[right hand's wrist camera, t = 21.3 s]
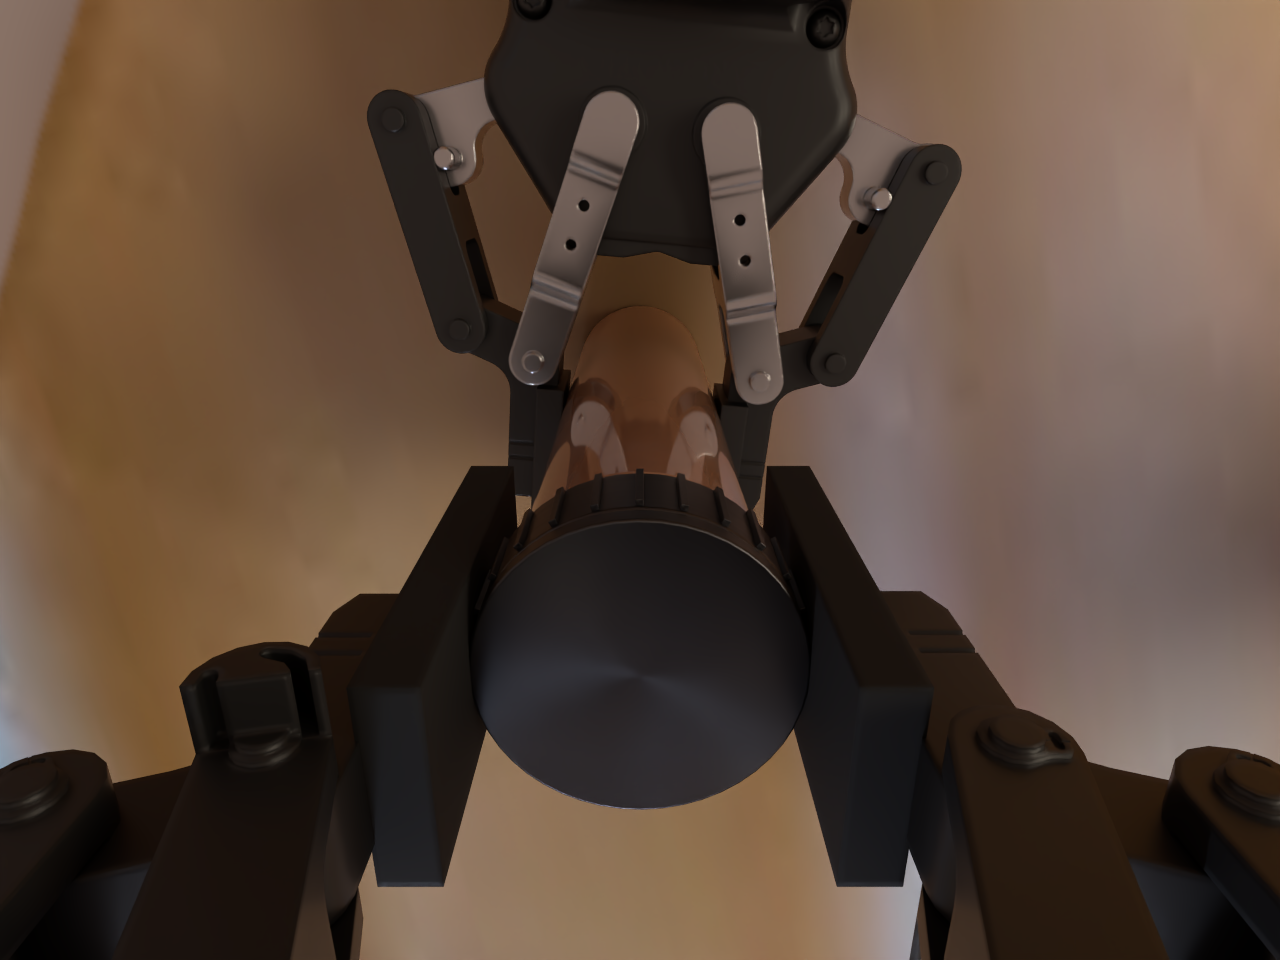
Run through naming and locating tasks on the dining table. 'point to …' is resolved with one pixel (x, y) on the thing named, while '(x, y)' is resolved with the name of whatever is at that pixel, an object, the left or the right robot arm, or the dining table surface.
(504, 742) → the lid
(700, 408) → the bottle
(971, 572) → the dining table surface
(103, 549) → the dining table surface
